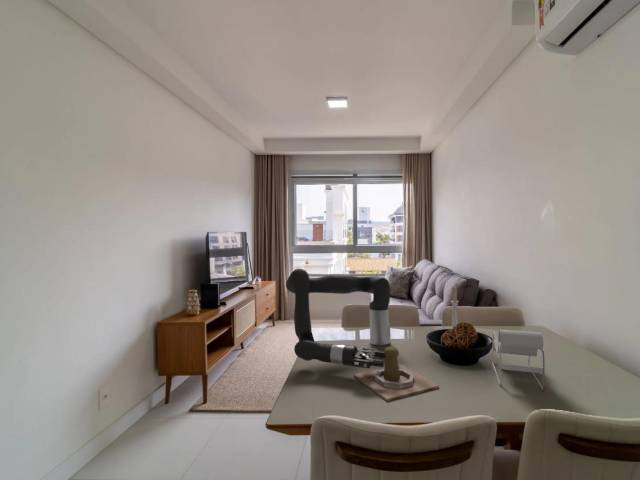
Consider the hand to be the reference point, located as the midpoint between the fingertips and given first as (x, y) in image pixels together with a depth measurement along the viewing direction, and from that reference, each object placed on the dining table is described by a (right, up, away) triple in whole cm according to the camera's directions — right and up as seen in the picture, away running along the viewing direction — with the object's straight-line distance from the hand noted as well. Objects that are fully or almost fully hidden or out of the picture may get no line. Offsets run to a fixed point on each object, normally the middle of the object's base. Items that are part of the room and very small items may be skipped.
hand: (385, 359), depth 125 cm
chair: (+50, -7, +2) cm, 50 cm away
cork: (+3, -7, +1) cm, 8 cm away
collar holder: (+3, -8, -1) cm, 8 cm away
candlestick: (+38, -7, +31) cm, 50 cm away
